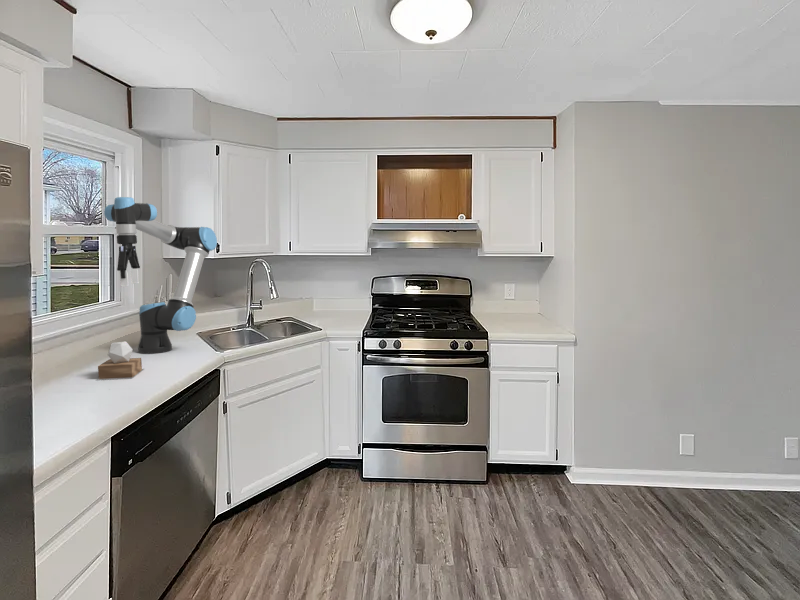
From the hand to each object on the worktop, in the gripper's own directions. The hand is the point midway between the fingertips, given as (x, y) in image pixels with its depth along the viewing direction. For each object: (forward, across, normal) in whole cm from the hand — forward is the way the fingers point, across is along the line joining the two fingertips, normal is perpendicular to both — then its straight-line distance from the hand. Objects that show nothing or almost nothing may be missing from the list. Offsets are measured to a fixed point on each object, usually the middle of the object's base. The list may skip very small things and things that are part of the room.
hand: (130, 285), depth 232 cm
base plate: (+34, +22, +1) cm, 41 cm away
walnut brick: (+33, +22, +1) cm, 40 cm away
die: (+28, +22, +2) cm, 36 cm away
